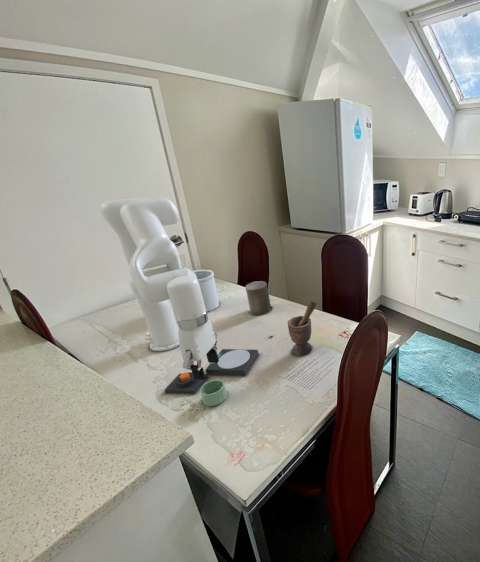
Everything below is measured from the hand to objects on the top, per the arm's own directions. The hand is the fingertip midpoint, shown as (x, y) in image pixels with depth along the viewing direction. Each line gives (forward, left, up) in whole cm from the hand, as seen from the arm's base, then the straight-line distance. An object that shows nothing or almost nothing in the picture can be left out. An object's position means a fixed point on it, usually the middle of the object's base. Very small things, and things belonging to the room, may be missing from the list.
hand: (207, 369), depth 95 cm
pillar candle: (-8, +58, -12) cm, 60 cm away
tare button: (-13, +6, -9) cm, 17 cm away
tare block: (-13, +6, -12) cm, 19 cm away
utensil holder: (-38, +61, -12) cm, 73 cm away
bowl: (0, 0, -12) cm, 12 cm away
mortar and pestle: (+22, +28, -12) cm, 38 cm away
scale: (-2, +17, -12) cm, 21 cm away
